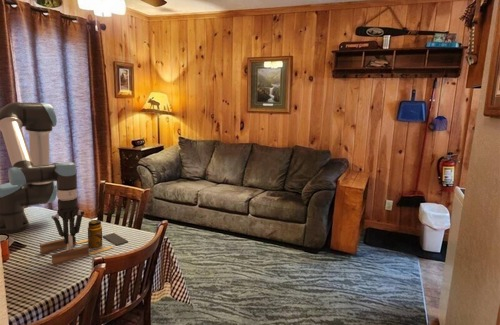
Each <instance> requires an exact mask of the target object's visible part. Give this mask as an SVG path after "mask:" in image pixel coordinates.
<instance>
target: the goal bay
mask: <svg viewBox="0 0 500 325" xmlns="http://www.w3.org/2000/svg"><path fill="white" fill-rule="evenodd" d="M85 243H88V238H87V239H84V240H79V241H76V245H79V244H81V245H82V244H85ZM113 249H114V246H107V247H105V248H104V247H103V248H99V249H97V250H94V251H91V252H90V251H89V255H95V254H98V253H103V252H105V251H108V250H113Z"/></svg>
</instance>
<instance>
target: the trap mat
mask: <svg viewBox="0 0 500 325" xmlns="http://www.w3.org/2000/svg"><path fill="white" fill-rule="evenodd" d="M102 239H105V240H106V241H108V242H110V243H111V244H113V245H114V246H121V245H124V244H127V243H129V241H128V240H127V239H125V238H124V237H122V236H120V235H119V234H117V233H115V232H113V233H109V234H105V235H102Z"/></svg>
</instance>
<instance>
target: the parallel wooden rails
mask: <svg viewBox="0 0 500 325" xmlns="http://www.w3.org/2000/svg"><path fill="white" fill-rule="evenodd" d="M76 239H77V238H76V236H75V241H74V242H73V249H71V250H64V249H67V244H66V243H65V242H64V237H62V238H60V239H56V240H52V241H47V242H43V243H40V244H39V249H40V252H39V253H40V254H41V255H45V254H49V253H53V252H56V251H59V250H64V251H61V252H57V253H53V254H51V265H53V266H57V265H61V264H63V263H67V262H71V261H73V260H77V259H81V258H84V257H87V256H90V250H89V246H87V245H85V246H82V245H81V246H79V247H75V246H76V245H77V243H76V242H77V241H76ZM74 247H75V248H74Z"/></svg>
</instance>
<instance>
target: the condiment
mask: <svg viewBox="0 0 500 325" xmlns="http://www.w3.org/2000/svg"><path fill="white" fill-rule="evenodd" d="M87 224H88V227H87V239H88V242H87V243H86V244H85V243H82V244H81V246H85V245H87V246H89V251H92V250H96V249H97V250H98V249H103V248H104V247H105V248H106V246H105V245H104V244H103V237H102V236H103V226H102V222H101V220H100V219H93V220H89V221H88V223H87Z"/></svg>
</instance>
